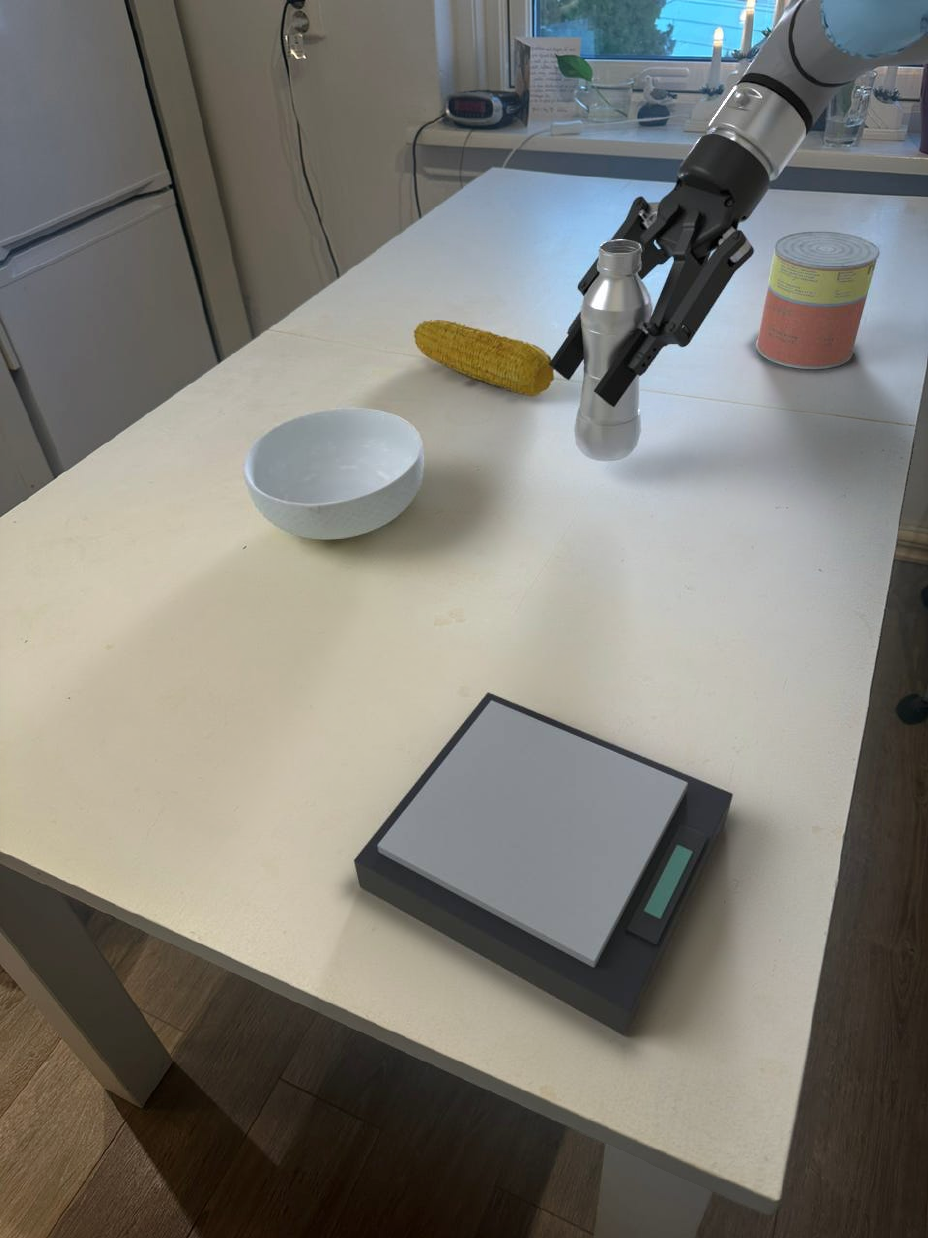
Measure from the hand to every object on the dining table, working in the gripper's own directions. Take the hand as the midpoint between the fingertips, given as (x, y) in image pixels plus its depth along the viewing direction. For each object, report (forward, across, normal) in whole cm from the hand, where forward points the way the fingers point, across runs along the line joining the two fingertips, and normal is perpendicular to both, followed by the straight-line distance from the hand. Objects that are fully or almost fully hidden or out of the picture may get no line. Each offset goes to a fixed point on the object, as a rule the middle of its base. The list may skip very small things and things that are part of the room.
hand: (580, 385), depth 81 cm
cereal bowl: (+23, -9, -8) cm, 26 cm away
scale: (+27, +33, -12) cm, 45 cm away
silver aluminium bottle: (+3, 0, +9) cm, 9 cm away
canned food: (-21, -7, +36) cm, 42 cm away
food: (+4, -25, +11) cm, 28 cm away
